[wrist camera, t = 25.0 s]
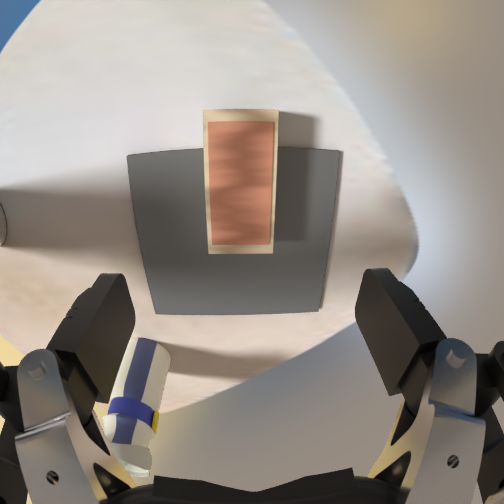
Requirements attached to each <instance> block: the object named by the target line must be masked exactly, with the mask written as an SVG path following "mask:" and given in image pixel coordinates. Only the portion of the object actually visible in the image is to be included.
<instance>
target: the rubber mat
mask: <svg viewBox="0 0 504 504" xmlns="http://www.w3.org/2000/svg"><path fill="white" fill-rule="evenodd" d="M127 163H128V173H129V181H130V189H131V196H132V203H133V209H134V216H135V222H136V228H137V233H138V239H139V244H140V249H141V254H142V259H143V264H144V268H145V273H146V277H147V282H148V286H149V290H150V294H151V298H152V302H153V306H154V310H155V313H156V314H166V315H253V314H282V313H302V312H318V311H319V306H320V300H321V295H322V289H323V283H324V277H325V271H326V264H327V258H328V251H329V244H330V237H331V229H332V221H333V213H334V204H335V195H336V185H337V175H338V163H339V151H338V150H327V149H310V148H287V147H278V148H277V175H276V198H275V220H274V239H273V253H267V254H209V252H208V237H207V220H206V201H205V177H204V148H200V149H184V150H171V151H160V152H150V153H141V154H132V155H128V156H127Z"/></svg>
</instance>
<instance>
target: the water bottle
mask: <svg viewBox="0 0 504 504" xmlns="http://www.w3.org/2000/svg"><path fill="white" fill-rule="evenodd" d="M170 363H171V357H170V354H169V352H168V351H167V350H166V349H165V348H164V347H163V346H162V345H160V344H158V343H157V342H155V341H152V340H149V339H145V338H133V339H130V340H129V343H128V346H127V348H126V351H125V354H124V357H123V360H122V362H121V365H120V368H119V371H118V374H117V377H116V380H115V383H114V387H113V390H112V393H111V403H110V407H109V410H108V414H107V415H105V416H104V417H103V423H104V425H105V431H104V433H105V436H106V438H107V440H108V442H109V444H110V446H111V448H112V450H113V452H114V454H115V456H116V458H117V459H118V461H119V462H120V464H121V465H122V466H123V467H124V469H125V470H126V471H127V472H128V474H129V475H134V476H140V477H147V476H149V475H150V473H149V470H150V469H151V464H152V457H151V453H150V450H149V448H147V447H148V444H149V442H150V440H151V439H152V438H153V437H154V436H155V434H156V430H157V424H158V417H159V412H158V410H159V407H160V404H161V400H162V395H163V390H164V385H165V381H166V377H167V373H168V370H169V366H170Z"/></svg>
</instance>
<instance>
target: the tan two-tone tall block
mask: <svg viewBox="0 0 504 504" xmlns="http://www.w3.org/2000/svg"><path fill="white" fill-rule="evenodd" d="M278 115H279V110H265V109H220V110H203V144H204V177H205V201H206V220H207V237H208V252H209V254H267V253H273V239H274V220H275V198H276V175H277V148H278Z"/></svg>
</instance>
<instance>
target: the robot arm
mask: <svg viewBox="0 0 504 504" xmlns="http://www.w3.org/2000/svg"><path fill="white" fill-rule="evenodd" d="M6 231H7V228H6V220H5V216H4V213H3V210H2V207H1V205H0V246H1V245H2V244H3V243H4V241H5V238H6ZM355 318H356V322H357V324H358V326H359V328H360V331H361V333H362V335H363V337H364V339H365V341H366V344H367V346H368V348H369V350H370V352H371V355H372V357H373V359H374V361H375V364H376V366H377V368H378V371H379V373H380V375H381V378H382V380H383V382H384V385H385V387H386V390H387V392H388V394H389V396H392V395H395V394H399V393H402V394H403V396H404V399H403V400H402V402H401V404H400V407H399V410H398V413H397V416H396V419H395V422H394V425H393V427H392V430H391V433H390V435H389V438H388V440H387V443H386V446H385V448H384V450H383V452H382V454H381V455H380V457H379V458H378V460H377V461H376V462H375V464H374V465H373V467H372V469H371V470H370V472H369V474H368V476H367V477H361V476H354V474H353V470H352V468H348V469H344V470H339V471H334V472H329V473H323V474H318V475H311V476H306V477H303V478H300V479H297V480H294V481H292V482H288V483H285V484H282V485H279V486H276V487H273V488H269V489H266V490H262V491H258V492H249V491H244V490H239V489H234V488H230V487H225V486H221V485H217V484H212V483H209V482H206V481H202V480H187V479H178V478H169V477H162V476H154V483H153V484H148V485H143V486H138V487H137V486H136V484H135V483H134V481H133V479H132V478H131V477H130V475H129V474H128V472H127V471H126V470H125V469H124V467H123V466H122V465H121V464H120V462H119V461H118V459H117V458H116V456H115V454H114V452H113V450H112V448H111V446H110V444H109V442H108V440H107V438H106V436H105V433H104V431H103V429H102V427H101V425H100V422H99V420H98V418H97V415H96V413H95V411H94V410H93V406H94V404H95V401H96V402H101V403H106V404H108V403H109V399H110V396H111V393H112V390H113V387H114V383H115V380H116V377H117V374H118V371H119V368H120V365H121V362H122V360H123V357H124V354H125V351H126V348H127V346H128V343H129V340H130V337H131V335H132V332H133V329H134V326H135V310H134V307H133V304H132V300H131V297H130V293H129V290H128V286H127V283H126V279H125V277H124V275H123V274H107V273H102V274H100V275H99V277H98V278H97V280H96V281H95V283H94V284H93V286H92V287H91V288H88V289H87V290H85V291H84V292H83V293H82V294H81V295H79V296H78V297H77V299H76V300H75V302H74V303H73V305H72V306H71V309H69V311H68V313H67V314H66V318H64V319H63V321H62V322H61V324H60V325H59V327H58V329H57V330H56V332H55V334H54V335H53V337H52V339H51V341H50V342H49V344H48V346H47V348H46V349H37V350H34V351H32V352H30V353H28V354H27V355H26V356H25V357H24V358H23V359H22V360H21V362H20V364H19V365H18V366H6V367H4V366H3V365H2V364H1V362H0V415H1V416H2V417H3V418H4V419H5V422H4V425H3V428H2V431H1V434H0V504H26V501H27V494H28V493H29V495H30V498H31V501H32V504H471V501H472V497H473V494H474V490H475V486H476V482H478V485H479V489H480V493H481V497H482V501H483V504H504V434H503V431H502V429H501V426H500V424H499V422H498V420H497V417H496V415H495V413H494V411H493V409H492V405H493V404H494V403H495V402H496V401H497V400H498V398H499V397H502V399H503V401H504V341H500V342H498V343H497V344H496V345H495V346H494V348H493V350H492V351H491V352H490V354H477V353H476V354H475V353H474V351H473V350H472V348H471V347H470V346H469V345H468V344H466V343H465V342H463V341H461V340H459V339H455V338H447V337H446V336H445V334H444V333H443V331H442V330H441V329H440V327H439V326H438V324H437V323H436V321H435V320H434V319H433V317H432V316H431V315H430V313H429V312H428V310H425V306H424V305H423V304H422V302H419V298H418V297H417V296H416V295H415V293H414V292H413V291H412V289H410V288H409V287H407V286H406V285H405V284H403V283H402V282H399V281H398V280H397V279H396V277H395V276H394V275H393V274H392V272H391V271H390V270H389V269H388V268H376V269H367V270H365V272H364V274H363V278H362V282H361V286H360V290H359V294H358V298H357V302H356V306H355Z"/></svg>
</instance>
